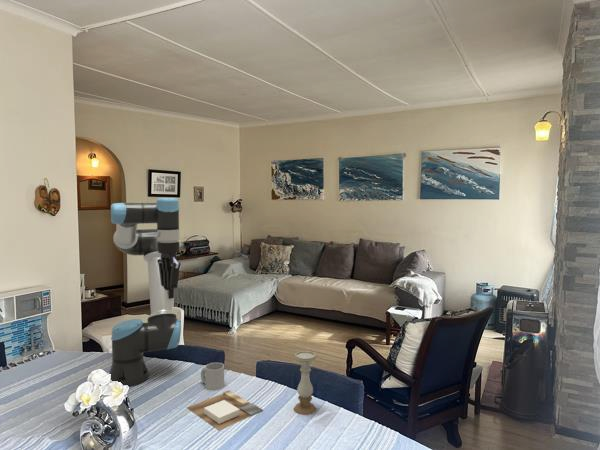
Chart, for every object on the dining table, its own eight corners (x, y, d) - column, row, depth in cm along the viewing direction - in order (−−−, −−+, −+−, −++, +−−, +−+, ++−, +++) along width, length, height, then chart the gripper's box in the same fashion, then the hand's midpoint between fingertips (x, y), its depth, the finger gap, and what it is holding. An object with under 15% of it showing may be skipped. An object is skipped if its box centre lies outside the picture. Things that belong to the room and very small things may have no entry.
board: (186, 410, 147) (186, 407, 147) (229, 394, 160) (229, 391, 160) (218, 434, 133) (218, 430, 133) (263, 413, 145) (263, 410, 145)
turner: (220, 397, 154) (220, 393, 154) (231, 393, 158) (231, 389, 158) (250, 416, 142) (250, 411, 141) (262, 411, 145) (262, 406, 145)
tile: (204, 407, 143) (219, 417, 136) (224, 399, 148) (239, 409, 142) (204, 414, 143) (219, 424, 136) (224, 406, 148) (239, 415, 142)
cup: (217, 394, 159) (217, 371, 159) (195, 389, 164) (195, 366, 163) (228, 386, 166) (227, 364, 165) (206, 382, 170) (206, 360, 169)
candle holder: (320, 408, 149) (321, 351, 148) (313, 420, 141) (313, 361, 140) (297, 404, 152) (297, 348, 151) (288, 416, 144) (288, 357, 143)
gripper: (149, 240, 153) (151, 305, 155) (167, 243, 144) (168, 312, 145) (169, 239, 158) (170, 301, 160) (187, 242, 149) (188, 308, 151)
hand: (169, 306), depth 153 cm, fingers closed
